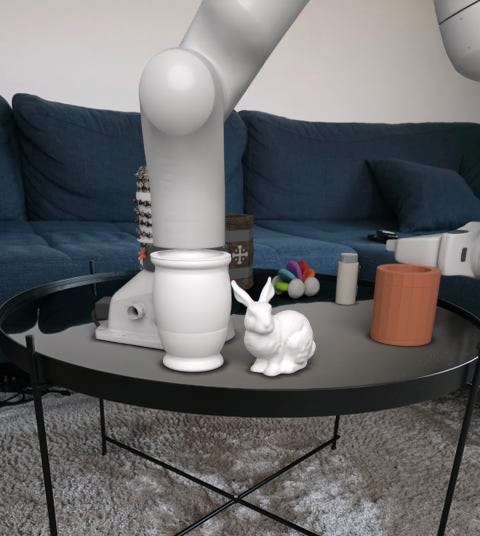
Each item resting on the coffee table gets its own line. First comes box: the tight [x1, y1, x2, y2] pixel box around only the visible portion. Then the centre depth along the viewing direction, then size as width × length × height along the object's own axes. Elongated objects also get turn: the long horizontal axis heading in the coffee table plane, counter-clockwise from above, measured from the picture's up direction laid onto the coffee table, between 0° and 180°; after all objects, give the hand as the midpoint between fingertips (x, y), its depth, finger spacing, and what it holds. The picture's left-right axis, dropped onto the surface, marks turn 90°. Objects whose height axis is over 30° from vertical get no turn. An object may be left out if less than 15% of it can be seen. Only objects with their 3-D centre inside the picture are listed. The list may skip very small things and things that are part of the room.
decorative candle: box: [133, 165, 153, 272], centre depth 115 cm, size 9×9×25 cm
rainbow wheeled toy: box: [271, 259, 321, 300], centre depth 124 cm, size 8×10×7 cm
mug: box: [225, 212, 255, 292], centre depth 132 cm, size 20×14×15 cm
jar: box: [150, 249, 232, 373], centre depth 80 cm, size 11×10×15 cm
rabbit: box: [231, 276, 317, 377], centre depth 80 cm, size 12×9×12 cm
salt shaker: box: [334, 252, 360, 306], centre depth 118 cm, size 4×4×10 cm
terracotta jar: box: [369, 263, 442, 347], centre depth 94 cm, size 10×10×11 cm
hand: (404, 242), depth 106 cm, fingers open, 8 cm apart
